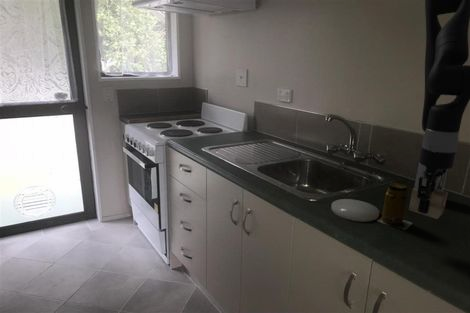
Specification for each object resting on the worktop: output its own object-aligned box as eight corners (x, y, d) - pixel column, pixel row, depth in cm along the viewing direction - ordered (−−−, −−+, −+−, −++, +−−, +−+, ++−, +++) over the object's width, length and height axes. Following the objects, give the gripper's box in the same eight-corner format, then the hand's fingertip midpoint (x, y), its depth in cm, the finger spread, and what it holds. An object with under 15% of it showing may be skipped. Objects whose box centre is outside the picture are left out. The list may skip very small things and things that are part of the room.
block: (415, 204, 95) (419, 184, 94) (443, 213, 91) (447, 192, 89) (408, 210, 92) (412, 189, 90) (437, 219, 87) (442, 197, 85)
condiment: (385, 214, 112) (391, 180, 109) (412, 223, 107) (419, 187, 103) (376, 221, 107) (382, 185, 104) (404, 231, 102) (412, 193, 98)
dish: (345, 198, 124) (345, 195, 124) (386, 212, 114) (387, 209, 113) (322, 210, 114) (322, 206, 113) (365, 226, 103) (366, 222, 103)
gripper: (431, 140, 94) (420, 197, 98) (412, 149, 84) (401, 212, 89) (463, 145, 88) (450, 206, 93) (447, 155, 79) (432, 222, 84)
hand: (426, 209), depth 91 cm, fingers closed on block, 5 cm apart
